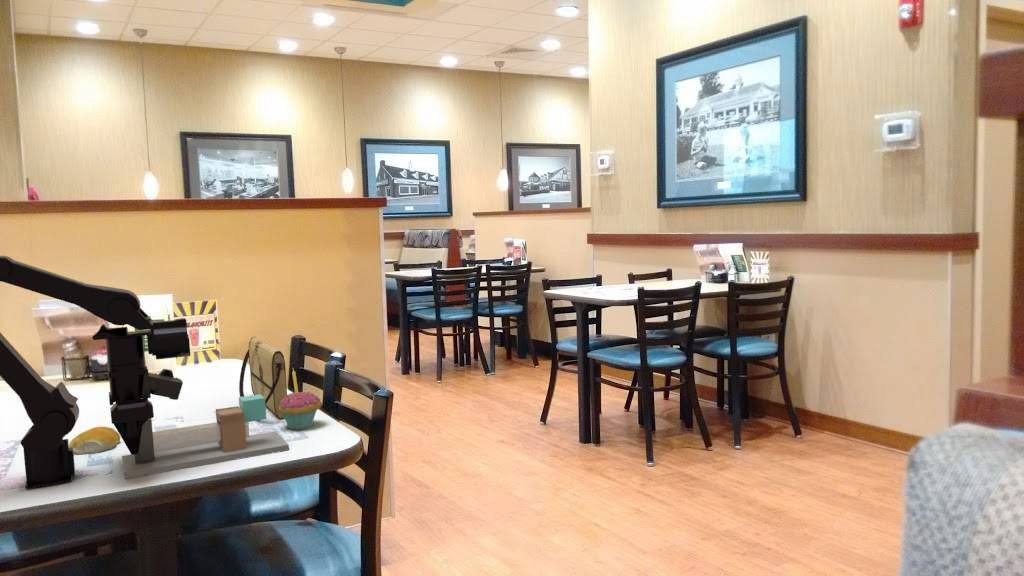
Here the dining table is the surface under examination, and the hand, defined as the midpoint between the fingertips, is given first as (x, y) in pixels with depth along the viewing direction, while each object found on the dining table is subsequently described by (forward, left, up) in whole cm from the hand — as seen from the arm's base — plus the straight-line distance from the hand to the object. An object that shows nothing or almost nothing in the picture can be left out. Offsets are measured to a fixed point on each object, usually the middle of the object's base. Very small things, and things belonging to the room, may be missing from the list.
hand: (134, 450), depth 131 cm
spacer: (+20, 0, +2) cm, 20 cm away
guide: (+12, 0, -3) cm, 12 cm away
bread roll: (-6, +19, -4) cm, 20 cm away
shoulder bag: (+27, +31, -3) cm, 41 cm away
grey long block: (+9, 0, -2) cm, 10 cm away
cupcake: (+31, +10, -3) cm, 33 cm away
